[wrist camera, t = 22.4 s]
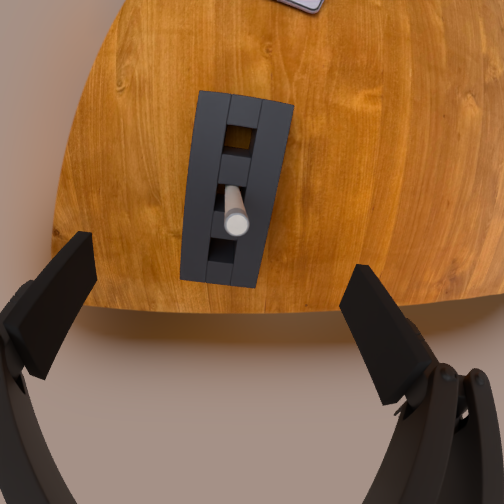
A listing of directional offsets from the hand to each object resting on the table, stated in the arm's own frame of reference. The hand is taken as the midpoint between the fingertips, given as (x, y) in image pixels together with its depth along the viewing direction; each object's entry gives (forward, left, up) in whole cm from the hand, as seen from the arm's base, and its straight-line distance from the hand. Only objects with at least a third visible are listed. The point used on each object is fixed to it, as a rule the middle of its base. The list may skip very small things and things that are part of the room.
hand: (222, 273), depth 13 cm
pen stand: (0, 0, -16) cm, 16 cm away
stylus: (0, 0, -17) cm, 17 cm away
